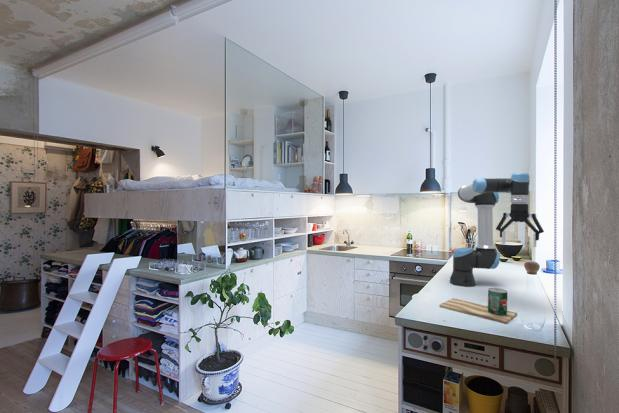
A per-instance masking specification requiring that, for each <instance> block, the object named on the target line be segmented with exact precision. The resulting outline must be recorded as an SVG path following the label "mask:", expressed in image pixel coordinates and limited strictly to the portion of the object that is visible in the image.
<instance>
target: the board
mask: <svg viewBox="0 0 619 413" xmlns="http://www.w3.org/2000/svg"><path fill="white" fill-rule="evenodd" d="M439 308H443V309H446V310H451V311H455V312H458V313H462V314H466V315H470V316H473V317H477V318H481V319H484V320H485V319H486V320H489V321H493V322H497V323H500V324H501V323H502V324H505V325H507V324H508V323H510V322H511V321H512V320H513V319H514V318H516V317H517V316H518V313H517V312H515V311H510V310H507V316H495V315H492V314H490V313H488V305H486V304H485V305H484V304H481V303H476V302H471V301H467V300H462V299H458V298H454V297H452V298H450V299H448V300H446V301H445V302H441V303H440V304H439Z"/></svg>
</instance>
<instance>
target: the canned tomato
mask: <svg viewBox="0 0 619 413" xmlns="http://www.w3.org/2000/svg"><path fill="white" fill-rule="evenodd" d="M487 291H488V292H487V306H488V313H490V314H492V315H495V316H507V311H508V290H507V289H503V288H499V287H498V288H497V287H489V288H488V289H487Z"/></svg>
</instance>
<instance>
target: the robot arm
mask: <svg viewBox="0 0 619 413" xmlns="http://www.w3.org/2000/svg"><path fill="white" fill-rule="evenodd" d="M510 176H511V177H509V178H505V177H504V178H501V177H500V178H483V177H482V178H475V179H473V181H472V183H471V184H467V185H462V186H461V187H460V188H459V189H458V190H457V196H458V198H459V199H460V200H461V201H462V202H465V203H466V204H467V203H468V204H474V206H475V208H476V209H477V245H476V246H475V248H473V247H457V248H455V249H453V254H452V257H453V258H452V264H453V265H452V272H451V275H450V279H449V283H450V284H452V285H453V286H454V285H455V286H459V287H474V286H476V278H475V276H474V273H473V271H474V270H473V269H483V270H484V269H487V270H490V269H491V270H494V269H497V267H499V265H500V259H501V255H500V252H499V251H498V250H496V249H497V248H496V247H495V245H494V225H493V224H494V223H493V222H494V220H493V219H494V218H493V216H494V215H493V209H494V207H495V206H496V204H497V203H498V202H499V199H500V196H499V193H506V194H507V193H508V194H510V203H511V204H510V213H508V212H503V214H502V218H501V219H500V221H499V222H498V223H497V226H496V228H495V230H496V231H498V232H499V238H501V244H502V245H506V231H505V230H506V229H507V228H508V227H509V226H510V225H512V224H513V223H514V222H515V223H525V224H526V225H527V226H528V227H529V228H530V229H531V230H532V232H534V233H533V240H532V242H533V243H532V247H533V248H536V247H537V241H539V240H540V234H542V233H544V232H545V231H544V229H543V227H542V225H541V223H540V222H539V220H538V218H537V214H536V213H529V202H530V201H529V198H530V197H529V196H530V195H529V190H530V177H529V176H530V175H529V173H527V172H516V173H512V174H511V175H510ZM508 217H510V219H509V220H508V221H507V222H506V220H507V218H508ZM529 218H531V219H532V221H533V222H534V224H535V226H536V227H537V228H536V227H535V226H534V224H532V223H531V221H530V220H529ZM505 222H506V223H505ZM504 223H505V224H504Z"/></svg>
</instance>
